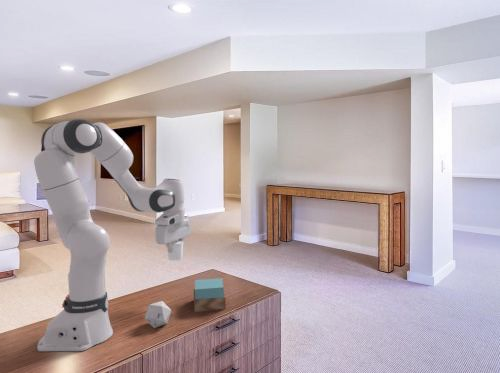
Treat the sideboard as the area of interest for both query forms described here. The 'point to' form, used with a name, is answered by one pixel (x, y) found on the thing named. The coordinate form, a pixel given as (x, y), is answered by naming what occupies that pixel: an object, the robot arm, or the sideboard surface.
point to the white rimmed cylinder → (176, 250)
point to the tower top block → (209, 288)
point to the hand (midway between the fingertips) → (175, 250)
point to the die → (158, 314)
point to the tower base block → (209, 304)
